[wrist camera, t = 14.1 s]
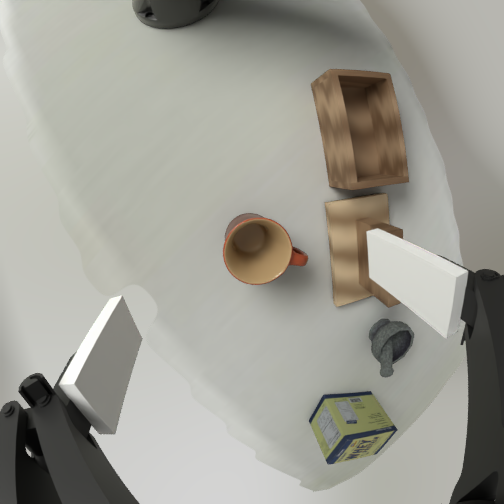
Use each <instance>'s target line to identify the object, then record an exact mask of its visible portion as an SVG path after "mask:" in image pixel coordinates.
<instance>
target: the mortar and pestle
mask: <svg viewBox="0 0 504 504" xmlns="http://www.w3.org/2000/svg"><path fill="white" fill-rule="evenodd" d="M413 338H414V333H413V331H412V330H411V328H410V327H409V326H408V325H407V324H405V323H403V322H397V321H396V322H390V321H389V320H388V319H381V320H380V321H378V322H377V323H375V324H374V325H373V327H372V328H371V330H370V333H369V339H370V340H371V341H372V346H371V347H372V353H373V355H374V357H375V358H376V359H377V360H378V361H379V362H380V363H381V370H380V375H381V376H382V377H389V376H391V375H392V374H393V372H394V369H393V368H392V364H394V363H395V362H397V361H398V360H400V359H401V358H403V357H404V356H405V354H406V353H407V352H408V350H409V349H410V347H411V346H412V343H413Z"/></svg>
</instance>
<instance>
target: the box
mask: <svg viewBox="0 0 504 504" xmlns="http://www.w3.org/2000/svg"><path fill="white" fill-rule="evenodd" d="M311 87H312V91H313V96H314V101H315V105H316V110H317V115H318V120H319V125H320V130H321V136H322V141H323V147H324V153H325V159H326V166H327V172H328V179H329V186H330V187H336V188H343V189H348V190H357V189H363V188H370V187H377V186H384V185H391V184H398V183H406V182H409V177H408V167H407V159H406V151H405V144H404V137H403V131H402V125H401V120H400V114H399V109H398V105H397V100H396V96H395V91H394V87H393V83H392V79H391V75H390V74H389V73H381V72H371V71H360V70H344V69H329V70H328V71H327V72H325V73H324V74H323V75H321V76H320V77H319V78H318V79H316V80H315V81H314V82H312V83H311Z"/></svg>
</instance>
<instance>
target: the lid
mask: <svg viewBox="0 0 504 504" xmlns="http://www.w3.org/2000/svg"><path fill="white" fill-rule="evenodd" d="M325 208H326V217H327V225H328V235H329V245H330V256H331V268H332V282H333V299H334V304H335V305H336V306H337V307H338V306H342V305H345V304H348V303H351V302H355V301H358V300H361V299H364V298H367V297H370V296H373V295H374V296H375V297H376V298H377V299H378V300H380V301H381V302H382V303H383V304H385V305H386V306H387V307H388V308H389V307H392V306H394V305H397V304H399V303H401V302H400V301H399V300H398V299H396V298H395V297H394V296H393V295H391V294H390V293H389V292H388V291H386V290H385V289H384V288H382V287H381V286H380V285H378V284H377V283H376V282H375V281H373V280H372V279H371V278H369V261H368V246H367V233H366V231H370V230H373V229H377V228H378V229H381V230H383V231H385V232H388V233H390V234H392V235H394V236H397V237H399V238H401V239H403V230H402V229H400V228H397V227H394V226H391V225H389V208H388V195H387V194H386V193H379V194H373V195H367V196H360V197H354V198H348V199H343V200H337V201H331V202H325Z"/></svg>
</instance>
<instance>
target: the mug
mask: <svg viewBox="0 0 504 504" xmlns="http://www.w3.org/2000/svg"><path fill="white" fill-rule="evenodd" d="M223 257H224V262H225V265H226V267H227V269H228V270H229V272H230V273H231V274H232V275H233V276H234V277H235V278H236V279H238V280H239V281H241V282H244V283H247V284H252V285H260V284H265V283H269V282H271V281H273V280H275V279H276V278H278V277H279V276H280V275H282V274H283V273H284V272H285V270H286V269H287V267H288V265H297V266H305V265H306V264H307V261H308V255H307V254H306V253H305V252H303V251H301V250H300V249H298V248H295V247H293V246H292V243H291V240H290V237H289V235H288V233H287V232H286V230H285V229H284V228H283V227H282V226H281V225H280V224H278V223H277V222H275V221H273V220H270V219H267V218H264V217H262V216H260V215H258V214H253V213H246V214H242V215H239V216H237V217H236V218H234V219H233V220H232V221H231V222H230V224H229V225H228V227H227V230H226V233H225V244H224V248H223Z"/></svg>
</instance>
